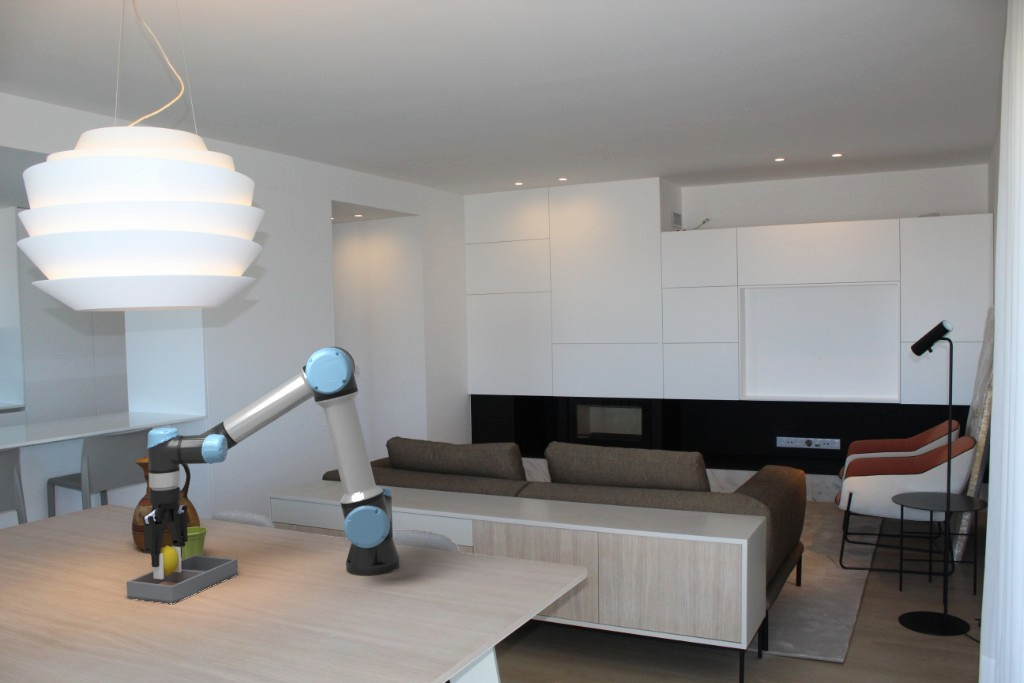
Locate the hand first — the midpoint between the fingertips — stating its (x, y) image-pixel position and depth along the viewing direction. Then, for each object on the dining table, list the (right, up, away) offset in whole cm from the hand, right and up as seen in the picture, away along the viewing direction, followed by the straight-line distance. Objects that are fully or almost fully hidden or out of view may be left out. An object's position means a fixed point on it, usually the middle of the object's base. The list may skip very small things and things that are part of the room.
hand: (167, 574), depth 215 cm
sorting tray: (+2, -5, +6) cm, 8 cm away
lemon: (0, 0, 0) cm, 0 cm away
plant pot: (-6, -5, +32) cm, 33 cm away
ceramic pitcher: (-20, -4, +47) cm, 51 cm away
